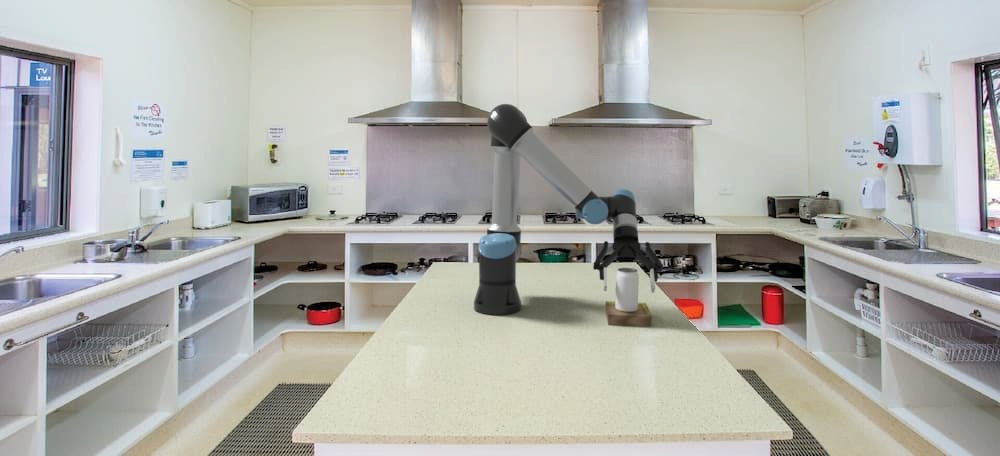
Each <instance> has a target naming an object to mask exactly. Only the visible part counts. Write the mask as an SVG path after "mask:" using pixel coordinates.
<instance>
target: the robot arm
mask: <svg viewBox="0 0 1000 456" xmlns="http://www.w3.org/2000/svg"><path fill="white" fill-rule="evenodd" d="M486 121H487V128H488V131H489V133H490V149H491V150H492V151H493V153H494V163H493V164H494V165H493V169H494V170H493V188H492V190H493V191H492V209H491V210H492V211H491V212H492V213H491V224H490V225H488V226H487V229H486V234H485V235H483V236H481V237H480V239H479V242H478V247H477V248H478V263H479V264H478V267H479V269H478V278H479V279H478V281H479V282H478V288H477V291H476V294H475V297H474V301H473V310H474V311H475V312H478V313H481V314H485V315H496V316H497V315H498V316H500V315H501V316H502V315H509V314H514V313H517V312H520V310H521V309H522V301H521V297H520V294H519V292H518V288H517V281H516V279H517V278H516V276H517V272H516V271H517V267H516V266H517V265H516V264H517V262H518V260H519V259H520V257H521V254H522V243H521V241H522V240H521V238H522V237H521V236H522V229H521V228H520V226H519V225H518V209H519V208H518V207H519V206H518V205H519V189H520V188H519V186H520V167H521V166H520V165H521V157H522V158H523V159H524V160H525V161H526V162H527V163H528V165H530V166H531V167H532V168H533V169H534V170H535V171H536V172H537V173H538V174H539V175H540V176H541V177H542V179H544V180H546V182H547V183H548V184H549V185H550V186H551V187H552V188H553V189H554V190H556V192H557V193H559V194H560V196H561V197H563V198H564V199H565V200H566V201H567V203H569V205H571V207H573V208H574V209H575V217H576V218H577V219H578V220H579V219H582V220H585V221H586V222H587V223H588V224H591V225H600V224H602V223H604V222H605V220H612V231H613V232H612V233H613V236H612V238H613V242H612V243H611V242H608V240H607V241H606V240H605V241H604V242H603V247H602V249H601V251H600V252H599V254H598V256H596V259H595V261H594V263H593V271H596V270H597V271H598V272H599V280H600V281H603V292H606V291H607V289H608V278H607V274H608V273H607V268H608V267H609V266H610V265H611V264H612V263H613V262H614V261H615V260H617V259H618V258H619V257H621V258H629V259H630V258H634V259H635V260H638V261H639V262H640V263H641V264H642V265H643V266H644V267H645V268H646V269H648V270H649V280H650V282H649V283H650V292H651V293H655V290H656V282H658V279H659V276H658V272H660V273H661V272H662V271H663V268H664V264H663V263H662V261H661V260H660V259H659V258H658V256H657V254H656V253H655V252H654V251H653V249H652V247H651V244H650V241H645V243H640V242H639V232H638V230H639V229H638V220H637V207H636V205H637V204H636V199H635V196H634V193H633V192H632V191H631V190H630V189H624V188H623V189H620V190H616V191H614V192H613V193H612V195H611V196H598V195H597V194H596V193H595V192H594V191H593V190H592V189H591V188H590V187H589V186H588V185H587V184H586V183H585V182H584V181H583V180H582V179H581V178H579V176H578V175H577V174H576V173H575V172H573V170H572V169H570V168H569V166H567V164H565V162H563V161H562V160H561V159H560V158H559V157H558V156H557V155H556V154H555V153H554V152H553V151H552V150H551V149H550V148H549V147H548V146H547V144H545V142H543V141H542V140H541V139H540V138H539V137H538V136H537V135H536V134H535V133H534V127H533V126H532V125H531V124H530V123H529V122H528V119H527V117H526V115H525V114H524V113H523V112H522V111H521V110H520V109H519V108H518V107H517V106H515V105H513V104H510V103H502V104H499V105H496V106H495V107H494V108H493V109H491V111H490V112H489V114H488V117H487V120H486ZM611 249H612V250H613V252H611V253H610V254H609V255H608V257H606V258H605V256H606V255H607V253H608V251H610V250H611ZM641 249H642V251H643V252H645V254H646V255H645V254H643V253H642V251H641Z"/></svg>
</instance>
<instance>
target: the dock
mask: <svg viewBox="0 0 1000 456" xmlns="http://www.w3.org/2000/svg"><path fill="white" fill-rule="evenodd" d="M605 315H606V317H605V318H606V321H607V326H625V327H626V326H629V327H631V326H632V327H648V328H649V327H652V317H653V316H652V312H651V310H650V309H649V307H648V305H647V303H646V302H638V309H637V310H636V311H635V312H621V311H618V310H617V309H616V308H615V301H605Z"/></svg>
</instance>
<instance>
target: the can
mask: <svg viewBox="0 0 1000 456" xmlns="http://www.w3.org/2000/svg"><path fill="white" fill-rule="evenodd" d="M615 275H616V276H615V299H614V300H615V301H614V302H615V308H616V309H617V310H618V311H621V312H635V311H636V310H637V309H638V303H639V284H640V283H639V281H640V280H639V279H640V278H639V277H640V275H639V273H638V269H636V268H633V267H632V268H631V267H630V268H629V267H620V268H617V273H616V274H615Z"/></svg>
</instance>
